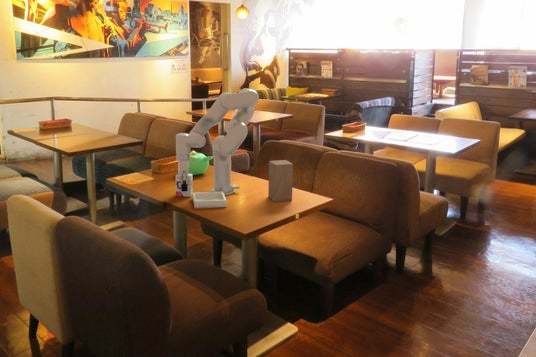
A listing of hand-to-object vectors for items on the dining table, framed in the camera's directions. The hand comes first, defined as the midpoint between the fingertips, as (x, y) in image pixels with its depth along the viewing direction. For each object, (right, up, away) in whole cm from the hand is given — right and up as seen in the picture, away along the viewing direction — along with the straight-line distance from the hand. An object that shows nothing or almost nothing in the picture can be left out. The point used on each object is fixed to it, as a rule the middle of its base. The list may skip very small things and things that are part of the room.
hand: (184, 189), depth 270 cm
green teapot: (-1, +8, +45) cm, 46 cm away
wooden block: (+52, -5, -1) cm, 52 cm away
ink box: (0, -4, +1) cm, 4 cm away
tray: (+15, -7, -11) cm, 20 cm away
